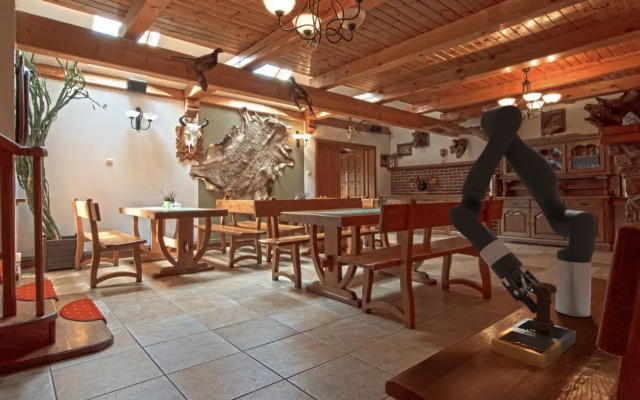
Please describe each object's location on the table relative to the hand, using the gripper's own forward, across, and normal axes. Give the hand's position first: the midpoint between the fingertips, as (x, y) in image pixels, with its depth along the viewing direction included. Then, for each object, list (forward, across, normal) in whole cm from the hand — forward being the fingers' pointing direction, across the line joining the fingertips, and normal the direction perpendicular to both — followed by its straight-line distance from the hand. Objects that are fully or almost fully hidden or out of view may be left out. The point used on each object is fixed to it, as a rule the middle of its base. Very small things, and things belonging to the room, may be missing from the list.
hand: (543, 308), depth 95 cm
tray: (+6, -6, +6) cm, 10 cm away
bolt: (+6, 0, +6) cm, 9 cm away
